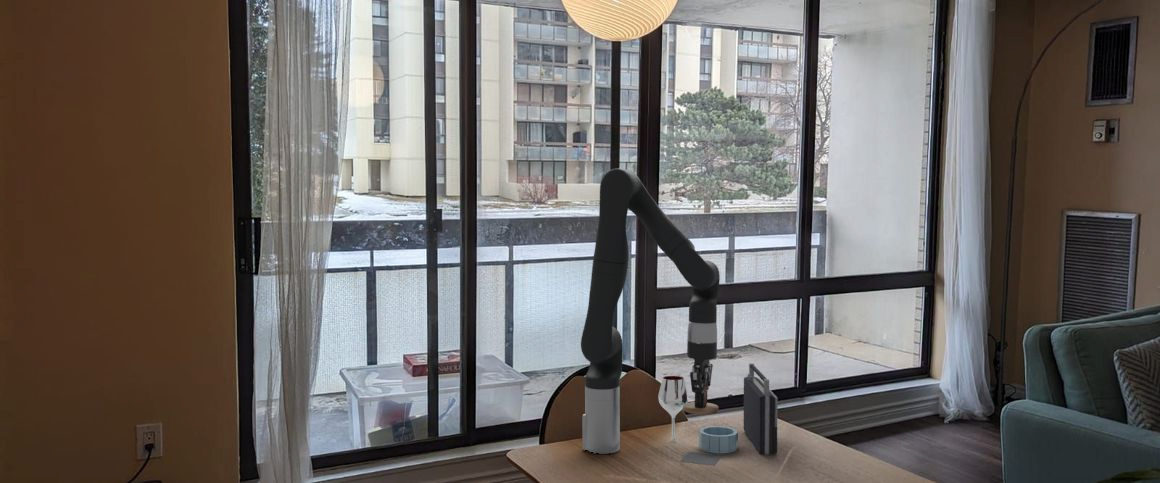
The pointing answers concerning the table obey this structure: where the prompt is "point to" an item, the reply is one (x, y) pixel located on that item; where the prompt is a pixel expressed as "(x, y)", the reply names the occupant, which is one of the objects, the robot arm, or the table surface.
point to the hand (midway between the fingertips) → (700, 405)
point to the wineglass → (673, 397)
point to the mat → (701, 458)
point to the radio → (760, 412)
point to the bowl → (718, 439)
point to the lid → (706, 410)
